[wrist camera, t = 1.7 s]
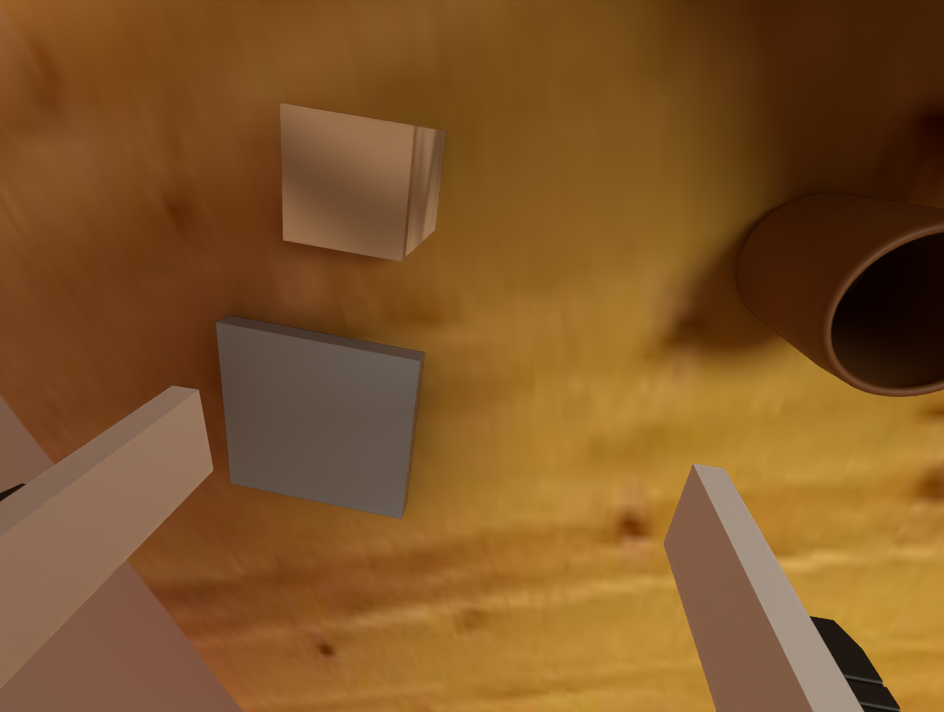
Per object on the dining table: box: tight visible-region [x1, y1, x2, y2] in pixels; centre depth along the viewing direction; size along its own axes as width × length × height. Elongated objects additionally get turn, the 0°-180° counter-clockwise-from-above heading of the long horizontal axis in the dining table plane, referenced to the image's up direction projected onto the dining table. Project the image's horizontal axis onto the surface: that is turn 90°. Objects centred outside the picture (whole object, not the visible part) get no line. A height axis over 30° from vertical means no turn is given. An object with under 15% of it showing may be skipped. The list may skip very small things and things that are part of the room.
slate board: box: [216, 315, 425, 519], centre depth 35 cm, size 14×14×1 cm
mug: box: [736, 193, 944, 397], centre depth 22 cm, size 12×8×9 cm, turn 103°
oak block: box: [280, 103, 446, 262], centre depth 24 cm, size 6×6×8 cm
